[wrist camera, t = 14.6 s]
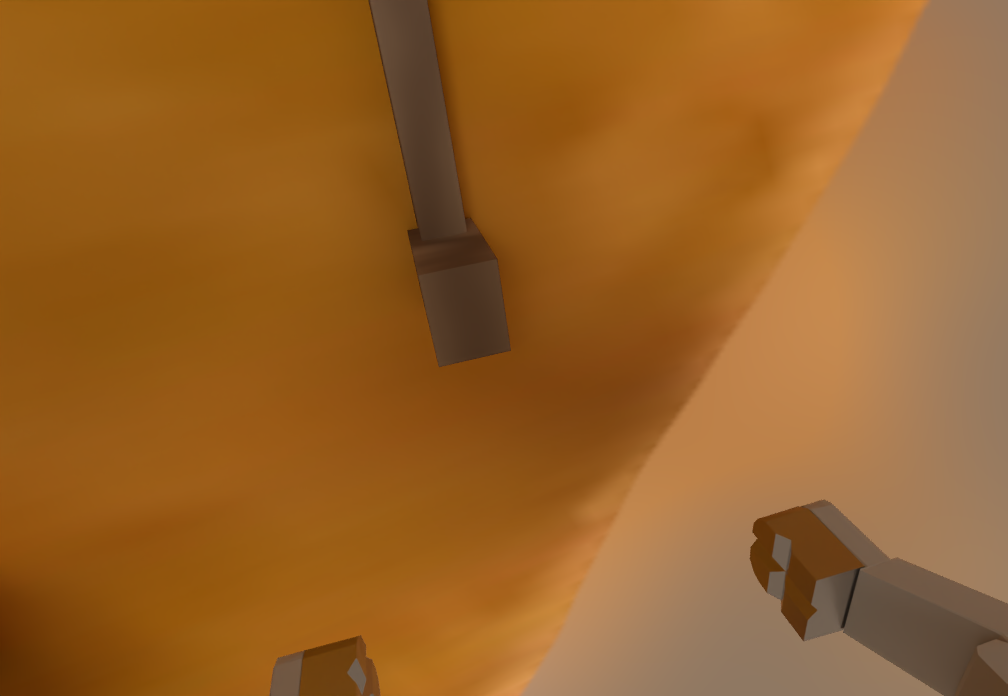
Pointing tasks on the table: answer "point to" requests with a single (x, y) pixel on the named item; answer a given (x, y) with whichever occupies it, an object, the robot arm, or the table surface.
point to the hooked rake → (438, 194)
